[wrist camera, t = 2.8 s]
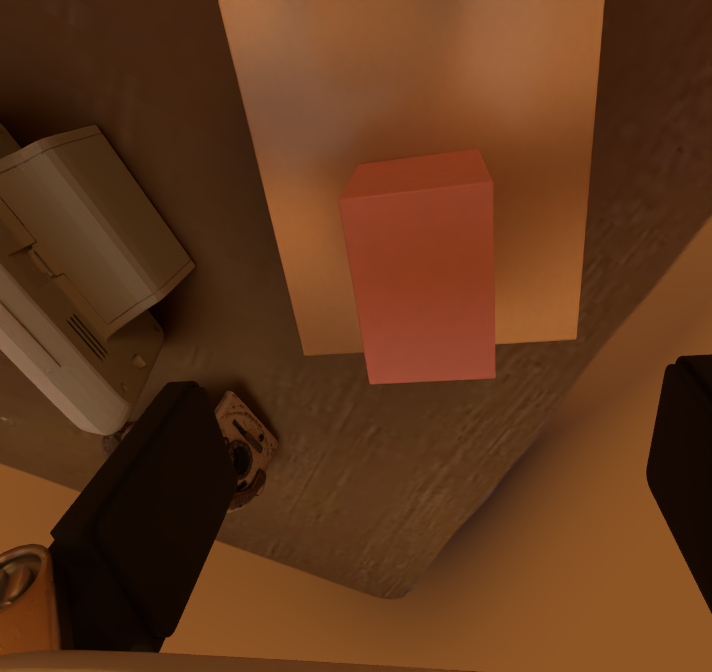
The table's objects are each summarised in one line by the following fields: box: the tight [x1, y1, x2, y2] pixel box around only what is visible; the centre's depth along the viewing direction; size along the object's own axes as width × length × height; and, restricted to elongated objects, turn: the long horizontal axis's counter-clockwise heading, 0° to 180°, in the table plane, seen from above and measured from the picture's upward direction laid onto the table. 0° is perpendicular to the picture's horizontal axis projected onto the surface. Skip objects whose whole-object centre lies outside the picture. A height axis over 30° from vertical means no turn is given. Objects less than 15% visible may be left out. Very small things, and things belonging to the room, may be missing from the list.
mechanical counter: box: [102, 391, 279, 513], centre depth 33 cm, size 7×13×10 cm
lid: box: [218, 0, 605, 356], centre depth 16 cm, size 16×12×5 cm
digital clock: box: [0, 123, 195, 435], centre depth 24 cm, size 16×9×11 cm, turn 16°
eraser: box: [338, 148, 496, 384], centre depth 17 cm, size 6×4×5 cm, turn 9°
